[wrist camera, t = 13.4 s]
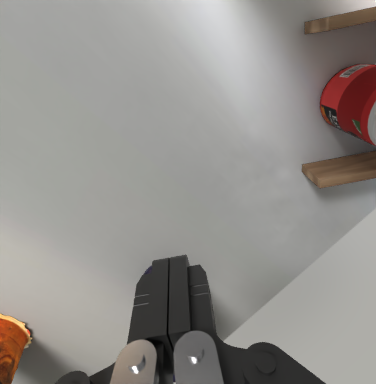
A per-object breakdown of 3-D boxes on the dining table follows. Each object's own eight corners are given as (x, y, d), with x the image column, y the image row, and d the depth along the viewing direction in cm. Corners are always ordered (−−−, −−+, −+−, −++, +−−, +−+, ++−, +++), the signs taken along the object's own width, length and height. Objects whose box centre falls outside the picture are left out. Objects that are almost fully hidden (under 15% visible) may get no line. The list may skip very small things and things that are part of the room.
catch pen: (304, 22, 31) (329, 16, 26) (422, -4, 30) (470, -14, 25) (302, 171, 40) (319, 188, 35) (392, 154, 39) (423, 169, 34)
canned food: (306, 114, 36) (355, 137, 26) (342, 52, 32) (414, 52, 23) (351, 134, 37) (413, 162, 28) (389, 77, 34) (475, 87, 24)
